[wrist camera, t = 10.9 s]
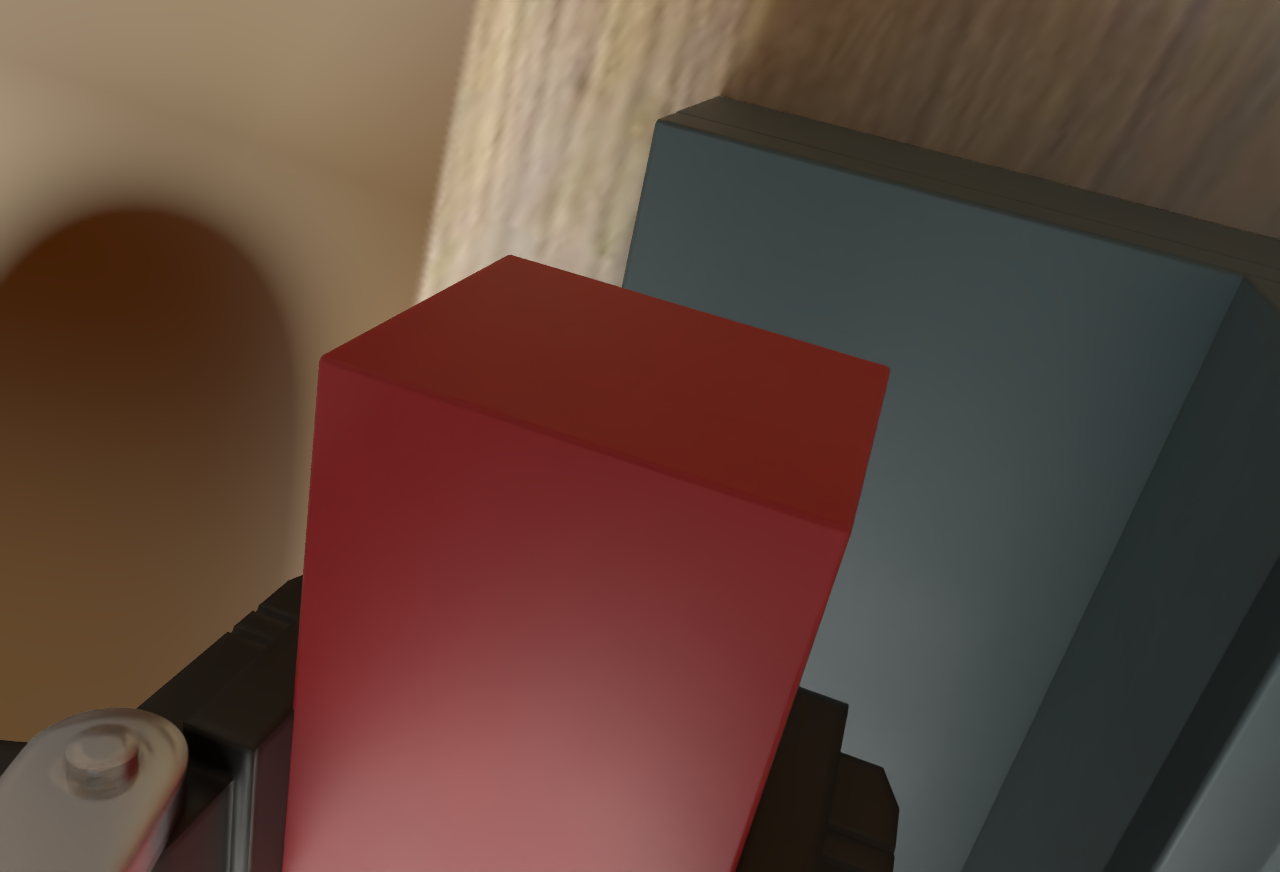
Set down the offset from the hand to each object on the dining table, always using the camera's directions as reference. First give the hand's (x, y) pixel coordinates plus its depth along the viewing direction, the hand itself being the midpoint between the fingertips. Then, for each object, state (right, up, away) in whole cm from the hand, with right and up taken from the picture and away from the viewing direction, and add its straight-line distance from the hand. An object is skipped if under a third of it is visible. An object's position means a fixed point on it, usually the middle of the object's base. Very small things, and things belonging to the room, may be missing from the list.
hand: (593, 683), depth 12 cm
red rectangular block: (0, 0, 0) cm, 0 cm away
